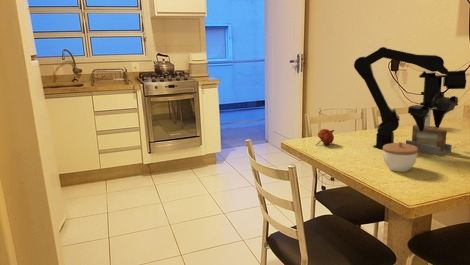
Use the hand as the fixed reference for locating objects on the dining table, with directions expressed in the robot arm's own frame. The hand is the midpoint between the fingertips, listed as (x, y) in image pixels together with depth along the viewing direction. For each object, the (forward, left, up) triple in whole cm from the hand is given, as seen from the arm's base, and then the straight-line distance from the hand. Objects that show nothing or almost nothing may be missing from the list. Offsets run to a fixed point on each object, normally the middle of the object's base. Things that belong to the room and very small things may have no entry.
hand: (429, 129), depth 134 cm
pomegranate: (-26, +30, -9) cm, 41 cm away
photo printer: (+30, +24, -9) cm, 39 cm away
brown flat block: (0, 0, -7) cm, 7 cm away
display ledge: (0, 0, -8) cm, 8 cm away
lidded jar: (-26, -8, -9) cm, 29 cm away
